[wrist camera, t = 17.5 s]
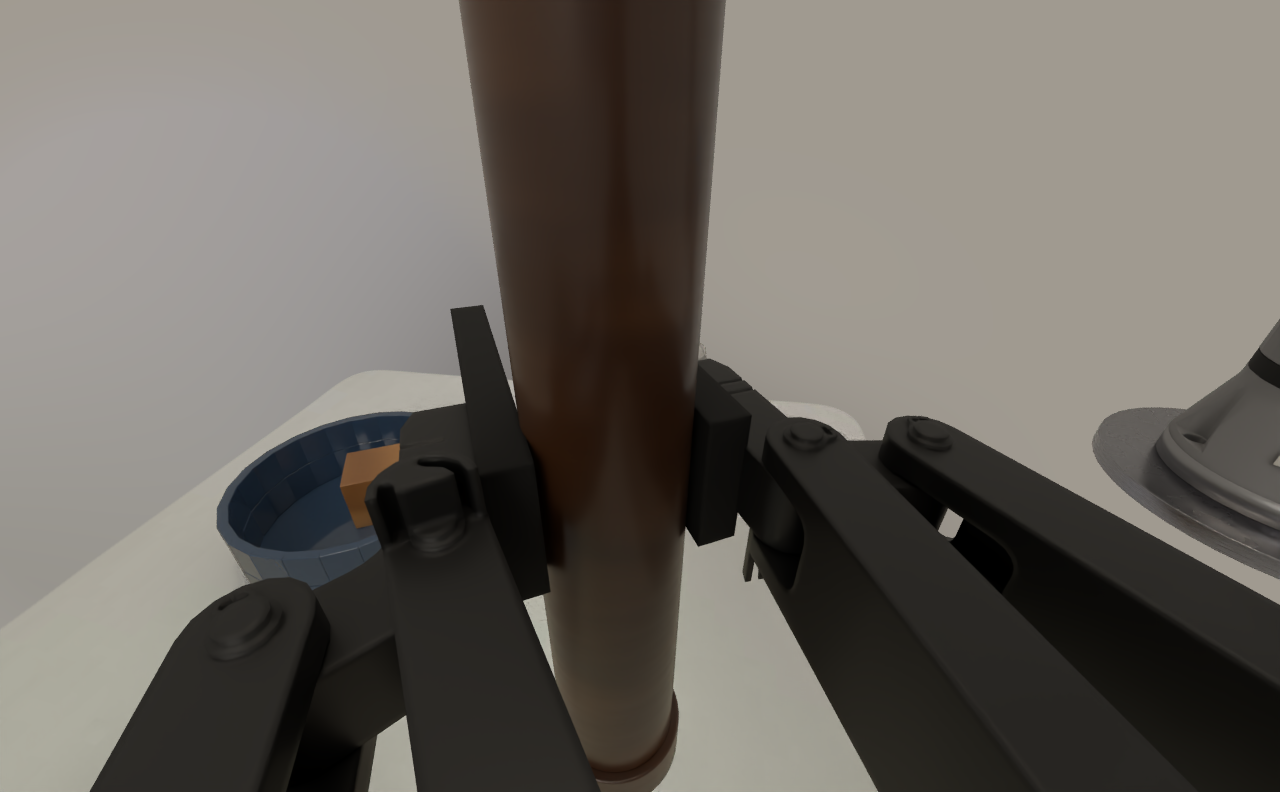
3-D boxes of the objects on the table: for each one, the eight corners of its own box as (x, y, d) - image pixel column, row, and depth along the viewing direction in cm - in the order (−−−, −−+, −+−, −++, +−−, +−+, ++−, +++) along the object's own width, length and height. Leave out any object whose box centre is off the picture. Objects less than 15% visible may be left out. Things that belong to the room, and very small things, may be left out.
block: (416, 481, 40) (404, 442, 38) (415, 515, 37) (402, 473, 35) (361, 493, 39) (346, 453, 37) (356, 528, 36) (339, 486, 34)
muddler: (649, 658, 15) (671, -33, 7) (697, 773, 13) (826, -112, 4) (546, 697, 14) (420, -57, 6) (574, 830, 12) (424, -180, 3)
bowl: (472, 449, 45) (461, 397, 42) (491, 578, 33) (477, 518, 30) (280, 487, 41) (253, 433, 38) (219, 655, 28) (174, 592, 26)
